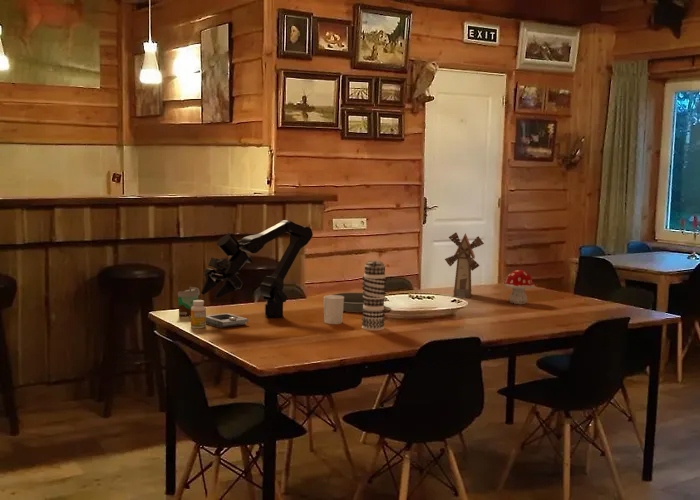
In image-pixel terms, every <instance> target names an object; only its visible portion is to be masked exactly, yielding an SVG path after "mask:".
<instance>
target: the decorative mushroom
mask: <svg viewBox="0 0 700 500" xmlns="http://www.w3.org/2000/svg"><path fill="white" fill-rule="evenodd" d="M502 284H503V286H504V287H506V288H511V289H512V291H511V293H510V295H509V296H508V297H509V299H508V300H509V302H510V303H511V304H513V303H514V305H525V304H526V303H527V302H528V297H527V294H526V291H525V290H526V289H533V288H535V283H534V282H533V278H532V276H531V275H530V273H528V272H527V271H525V270H523V269H516V270H512V271H511V272H509V274H508V275H507V276H506V279H505V281H504V282H503V283H502Z"/></svg>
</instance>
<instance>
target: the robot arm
mask: <svg viewBox="0 0 700 500" xmlns="http://www.w3.org/2000/svg"><path fill="white" fill-rule="evenodd" d="M286 233H287V234H289V243H288V246H287V247H286V248H285V249H286V250H285V251H284V253H283V255H282V256H281V258H280V260H279V262H278V264H277V266H276V267H275V269H274V271H273V273H272V274H271V275H265V276H264V277H263V280H262V282H261V283H260V288H259V290H260V294H261V295H262V298H263V301H264V300H265V301H266V302H265V303H264V316H265V317H266V318H269V319H271V318H273V319H275V318H279V319H280V318H284V303H286V302H287V299H288V296H287V295H286V293H284V291H283V290H284V287H285V286H284V284H285V283H284V281H285V278H286V277H287V275H288V273H289V271H290V269H291V268H292V265H293V264H294V261H295V260H296V259H297V256H298V255H299V253H300V251H301V249H303V248H304V247H305V246H306V245H308V244H309V242H310V241H311V239H312V238H313V236H314V233H313V230H312V228H311V227H309V226H305V225H304V226H303V225H300V224H298V223H295V222H293V221H291V220H286V219H283V220H281V221H279V223H277V224H274V225H273V226H271V227H269V228H267V229H265V230H263V231H262V232H258V233H257V234H251V235H247V236H244V237H243V238H241V239H240V240H237V238H236V237H235V235H233V233H231V232H229V233H228V232H227V234H225V235H224V236H222V237H220V238H218V240H217V243H216V245H217V247H218V248H219V249H220V250H221V251H222V252H223V253H224V254H225V256H227V257H229V256H230V257H229V258H228V259H227V258H224V257H222V258H221V259H220V258H217V257H213V256H212V257H210V259H209V262H208V266H209V268H208V267H207V268H205V270H204V271H203V276H204V277H205V282H204V285H203V287H202V290H201V292H200V294H202V295H203V296H204V295H205V294H207V293H208V292H210V291H211V290H212V289H214V288H215V287H217V286H218V284H219V283H220V282H221V281H222V285H221V286H220V287H219V289H218V291H217V292H216V293H215V295H214V297H215V299H218V298H221V297H223V296H225V295H228V294H229V293H232V292H234V291H237V290H240V289H241V288H242V287H243V281H242V280H241V279H240V277H239V276H238V275H240V274H241V269H242V267H244V265H245V264H246V263H248V264H252V263H253V259H252V257H253V256H252V255H249V254H257V253H258V252H260V251H261V250H262V249H264V246H265V245H266V244H268V243H269V242H271V241H273V240H275V239H277V238H278V237H281V236H282V235H284V234H286ZM248 253H249V254H248ZM210 267H212V268H210ZM213 268H215V269H213Z"/></svg>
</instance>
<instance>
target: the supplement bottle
mask: <svg viewBox="0 0 700 500" xmlns="http://www.w3.org/2000/svg"><path fill="white" fill-rule="evenodd" d="M193 305H194V306H192V307H191V316H190V327H191V328H193V329H204V328H206V325H207V324H206V315H207V309H206V306H204V305H205V300H202V299H198V300H194V301H193Z"/></svg>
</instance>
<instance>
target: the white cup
mask: <svg viewBox="0 0 700 500" xmlns="http://www.w3.org/2000/svg"><path fill="white" fill-rule="evenodd" d="M343 307H344V297H343V296H339V295H332V294H328V295H324V296H323V315H324V316H323V318H324V319H323V322H324V323H325V324H328V325H339V324H342V323H343V315H344V311H343Z"/></svg>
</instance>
